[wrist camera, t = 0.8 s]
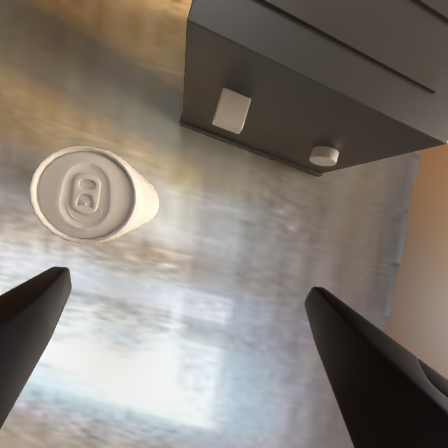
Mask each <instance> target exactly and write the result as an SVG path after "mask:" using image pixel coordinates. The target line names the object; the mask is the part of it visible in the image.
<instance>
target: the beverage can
mask: <svg viewBox="0 0 448 448" xmlns="http://www.w3.org/2000/svg"><path fill="white" fill-rule="evenodd" d="M30 201H31V204H32V207H33V210H34V213H35V215H36V216H37V217H38V219H39V220H40V222H41V223H42V225H44V226H45V227H46V228H47V229H48V230H49V231H51V232H52V233H53V234H55V235H57V236H59V237H61V238H63V239H65V240H68V241H72V242H77V243H85V244H94V243H103V242H107V241H111V240H113V239H115V238H118V237H120V236H122V235H124V234H126V233H128V232H130V231H132V230H134V229H136V228H138V227H140V226H142V225H144V224H146V223H147V222H149V221H150V220H151V219H152V218H154V216H155V215H156V213H157V211H158V207H159V200H158V196H157V193H156V191H155V189H154V187H153V186H152V185H151V184H150V183H149V182H148V181H147V180H146V179H145V178H144V177H143V176H141V175H140V174H139V173H138V172H137V171H136V170H135V169H133V168H132V167H131V166H130V165H129V164H128V163H127V162H125V161H124V160H123V159H121V158H120V157H118V156H116V155H115V154H113V153H111V152H109V151H106V150H103V149H100V148H95V147H90V146H72V147H66V148H62V149H60V150H58V151H56V152H54V153H52V154H50V155H49V156H48V157H47V158H45V159H44V160H43V161H42V162H41V163H40V164H39V166H38V167H37V169H36V170H35V172H34V173H33V176H32V180H31V184H30Z"/></svg>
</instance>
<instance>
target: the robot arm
mask: <svg viewBox="0 0 448 448" xmlns="http://www.w3.org/2000/svg"><path fill="white" fill-rule="evenodd" d="M71 287H72V286H71V278H70V271H69V269H68V268H66V267H52V268H50V269H48V270H46V271H44V272H42V273H41V274H39V275H37V276H35V277H33V278H32V279H30V280H28V281H26V282H24V283H22V284H21V285H19V286H17V287H15V288H13V289H11V290H10V291H8V292H6V293H4V294H2V295H0V429H1V427H2V425H3V423H4V422H5V420H6V418H7V416H8V414H9V413H10V411H11V409H12V407H13V406H14V404H15V402H16V400H17V398H18V397H19V395H20V393H21V391H22V389H23V388H24V386H25V384H26V382H27V380H28V379H29V377H30V375H31V373H32V371H33V370H34V368H35V366H36V364H37V363H38V361H39V359H40V357H41V355H42V354H43V352H44V350H45V348H46V346H47V345H48V343H49V341H50V339H51V337H52V335H53V332H54V330H55V328H56V325H57V323H58V321H59V318H60V316H61V314H62V311H63V309H64V307H65V304H66V302H67V299H68V297H69V295H70V292H71ZM305 309H306V312H307V316H308V320H309V323H310V327H311V331H312V334H313V338H314V341H315V344H316V347H317V350H318V353H319V355H320V358H321V361H322V363H323V366H324V369H325V371H326V374H327V376H328V379H329V382H330V384H331V387H332V390H333V392H334V395H335V398H336V400H337V403H338V406H339V408H340V411H341V414H342V416H343V419H344V422H345V424H346V427H347V430H348V432H349V435H350V438H351V440H352V443H353V446H354V448H448V380H447V379H446V378H444V377H443V376H441V375H440V374H439V373H437V372H436V371H435V370H433V369H432V368H431V367H429V366H428V365H426V364H425V363H424V362H422V361H421V360H420V359H417V357H416V356H414V355H413V354H412V353H410V352H409V351H408V350H406V349H405V348H404V347H402V346H401V345H400V344H398V343H397V342H395V341H394V340H393V339H392V338H390V337H389V336H388V335H386V334H385V333H384V332H382V331H381V330H380V329H378V328H377V327H376V326H374V325H373V324H372V323H370V322H369V321H367V320H366V319H365V318H363V317H362V316H361V315H359V314H358V313H357V312H355V311H354V310H353V309H351V308H350V307H349V306H347V305H346V304H345V303H343V302H342V301H341V300H339V299H338V298H337V297H335V296H334V295H333V294H331V293H330V292H329V291H327V290H326V289H325V288H322V287H313V288H312V289H311V290H310V292H309V294H308V296H307V298H306V300H305Z"/></svg>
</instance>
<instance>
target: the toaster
mask: <svg viewBox="0 0 448 448" xmlns="http://www.w3.org/2000/svg"><path fill="white" fill-rule="evenodd" d="M180 125H181V126H184V127H186V128H189V129H192V130H194V131H197V132H200V133H202V134H205V135H208V136H211V137H213V138H216V139H219V140H221V141H224V142H227V143H229V144H232V145H235V146H237V147H240V148H243V149H245V150H248V151H251V152H254V153H256V154H259V155H262V156H264V157H267V158H270V159H272V160H275V161H278V162H280V163H283V164H286V165H289V166H291V167H294V168H297V169H299V170H302V171H305V172H307V173H310V174H313V175H315V176H318V177H319V176H323V173H325V172H330V171H334V170H338V169H342V168H346V167H351V166H355V165H359V164H363V163H367V162H372V161H376V160H380V159H384V158H388V157H393V156H397V155H401V154H405V153H410V152H414V151H418V150H422V149H426V148H431V147H434V146H439V145H443V144H446V143H447V141H448V0H193V1H192V4H191V8H190V11H189V15H188V18H187V32H186V53H185V74H184V95H183V112H182V116H181V119H180Z"/></svg>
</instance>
